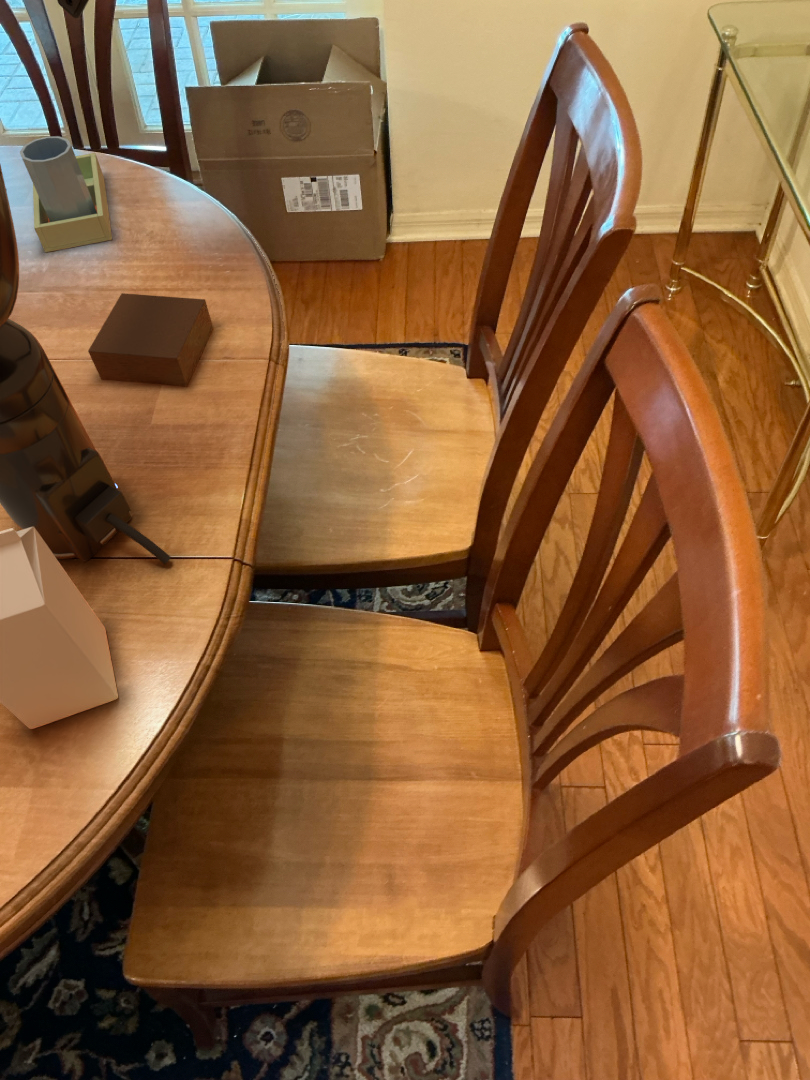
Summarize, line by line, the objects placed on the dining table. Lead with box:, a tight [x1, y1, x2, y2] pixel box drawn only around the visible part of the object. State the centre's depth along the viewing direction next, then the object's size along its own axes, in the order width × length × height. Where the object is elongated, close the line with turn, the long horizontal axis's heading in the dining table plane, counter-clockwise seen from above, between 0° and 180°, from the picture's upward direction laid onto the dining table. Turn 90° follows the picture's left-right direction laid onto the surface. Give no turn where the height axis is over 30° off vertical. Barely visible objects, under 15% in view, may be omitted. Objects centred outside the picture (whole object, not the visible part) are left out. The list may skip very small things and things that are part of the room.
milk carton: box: [0, 527, 119, 730], centre depth 56 cm, size 7×7×19 cm
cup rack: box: [32, 152, 113, 253], centre depth 104 cm, size 9×16×4 cm, turn 17°
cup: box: [19, 135, 97, 222], centre depth 98 cm, size 6×6×10 cm
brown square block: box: [87, 292, 214, 387], centre depth 86 cm, size 10×10×4 cm
